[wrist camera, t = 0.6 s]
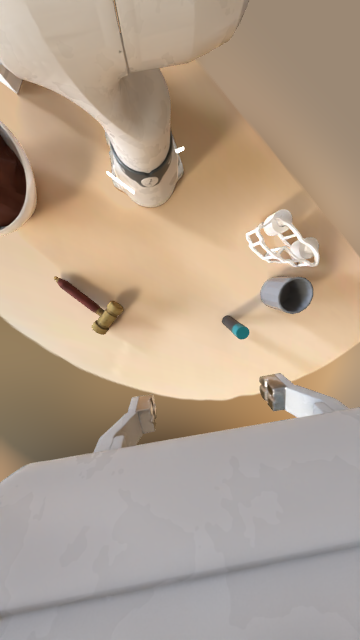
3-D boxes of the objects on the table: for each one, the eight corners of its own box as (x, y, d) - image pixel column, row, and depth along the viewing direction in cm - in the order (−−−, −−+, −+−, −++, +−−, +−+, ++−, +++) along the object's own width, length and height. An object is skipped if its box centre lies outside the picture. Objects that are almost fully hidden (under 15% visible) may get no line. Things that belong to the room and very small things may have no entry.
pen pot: (259, 279, 56) (277, 281, 46) (289, 273, 56) (313, 273, 47) (261, 309, 58) (278, 316, 49) (290, 303, 58) (313, 309, 49)
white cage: (310, 252, 54) (331, 248, 47) (285, 281, 56) (302, 282, 49) (265, 207, 50) (281, 196, 43) (240, 240, 52) (252, 235, 45)
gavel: (39, 290, 49) (58, 262, 47) (50, 290, 53) (68, 263, 52) (101, 336, 52) (121, 311, 50) (107, 332, 56) (125, 309, 55)
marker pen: (221, 316, 58) (235, 328, 46) (231, 314, 58) (248, 325, 46) (222, 326, 59) (236, 340, 47) (233, 324, 59) (249, 337, 47)
